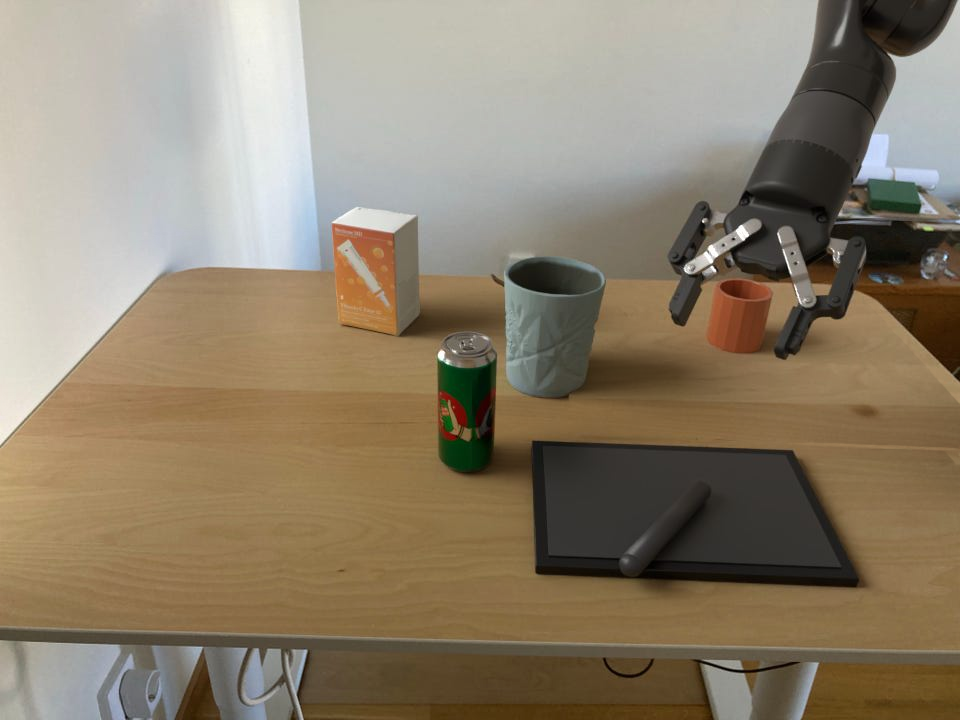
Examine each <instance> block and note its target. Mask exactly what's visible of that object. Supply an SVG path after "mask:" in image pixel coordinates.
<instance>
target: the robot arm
mask: <svg viewBox="0 0 960 720" xmlns="http://www.w3.org/2000/svg"><path fill="white" fill-rule="evenodd" d="M958 1H959V0H818V2H817V5H816V13H815V23H814V30H813V31H814V33H813V39H812V43H811V47H810V48H811V49H810V53H809V58H808V61H807V63H806V67H805V68H804V71H803V73H802V74H801V77H800V79H799V81H798V84H797V85H796V88H795V89H794V91H793V94H792V96H791V98H790V100H789V102H788V104H787V105H786V107H785V109H784V110H783V112H782V114H781V115H780V116H779V118H778V120H777V121H776V123H775V125H774V127H773V129H772V131H771V133H770V135H769V137H768V139H767V141H766V142H765V145H764V147H763V150H762V151H761V154H760V155H759V157H758V160H757V162H756V163H755V165H754V168H753V169H752V172H751V173H750V176H749V179H748V180H747V183H746V185H745V186H744V189H743V191H742V194H741V196H740V198H739V202H738V203H737V205H736V206H735V207H734V208H733V209H732V210H730V211H729V212H728V213H726V212H723V211H720V210H715V209H713V208H711V207H710V205H709V204H710V203H708V202H707V201H706V200H701V201H698V202H697V203H696V204H695V205H694V207H693V209H692V210H691V212H690V214H689V216H688V217H687V220H686V221H685V223H684V225H683V226H682V228H681V229H680V232H679V234H678V236H677V237H676V239H675V241H674V242H673V244H672V247H671V248H670V249H669V252H668V254H667V259H668V262H669V264H670V266H671V268H672V269H673V271H674V273H675V274H676V275H679V276H681V278H680V280H679V282H678V284H677V286H676V289H675V290H674V293H673V295H672V297H671V299H670V300H669V303H668V311H669V312H670V318H671V320H672V322H673V323H674V325H676V326H679V327H681V328H684V327H685V326H686V325H687V322H688V321H689V319H690V316H691V314H692V312H693V310H694V308H695V306H696V304H697V303H698V300H699V297H700V296H701V294H702V291H703V288H702V286H703V285H705V284H707V283H708V282H711V281H712V280H713V279H715V278H717V277H719V276H720V277H721V276H723V277H724V276H726V275H727V274H729V273H730V272H732V271H735V269H740V271H741V273H745V274H748V275H761V276H763V278H766V279H768V280H769V281H773V282H777V283H779V282H780V280H786V279H789V280H790V283H791V286H792V289H793V291H794V292H793V293H794V295H795V297H796V300H797V302H798V303H797V306H794V305H793V306H792V307H791V309H790V312H789V314H788V316H787V318H786V321H785V322H784V325H783V327H782V329H781V332H780V333H779V336H778V338H777V340H776V341H775V344H774V348H773V352H774V355H775V358H777V359H780V360H783V361H786V360H787V359H788V358H789V355H792V356H796V355H797V354H798V353H799V352H800V351H801V349H802V346H803V344H804V342H805V339H806V338H807V337H808V333H809V332H810V330H811V327H812V325H813V323H814V321H816V320H818V319H820V318H831V319H833V320H835V321H836V320H843V318H844V317H845V316H846V314H847V311H848V309H849V306H850V304H851V301H852V298H853V296H854V293H855V290H856V287H857V285H858V281H859V279H860V276H861V273H862V271H863V268H864V265H865V264H866V260H867V246H866V239H865V238H864V237H863V236H860V235H856V236H852V237H851V238H849V240H848V239H843V238H836V237H831V232H832V230H833V228H834V227H835V223H836V221H837V219H838V217H839V215H840V214H841V210H842V208H843V207H844V204H845V202H846V199H847V198H848V195H849V193H850V190H851V188H852V186H853V184H854V182H855V180H856V179H857V178H858V176H859V174H860V172H861V171H862V168H863V162H864V160H865V158H866V155H867V153H868V150H869V146H870V143H871V140H872V136H873V133H874V130H875V128H876V127H877V125H878V121H879V120H880V117H881V115H882V113H883V111H884V108H885V106H886V104H887V102H888V100H889V98H890V96H891V94H892V92H893V89H894V87H895V83H896V79H897V67H896V65H895V61H894V59H893V58H892V57H891V56H895V57H899V58H907V57H911V56H914V55H916V54H918V53H921V52H922V51H923V50H925V49H927V48H929V47H930V46H931V45H932V44H933V43H934V42H935V41H936V40H937V39H938V38H939V37H940V36H941V34H942V33H943V32H944V31H945V28H946V27H947V25H948V23H949V21H950V19H951V18H952V15H953V13H954V11H955V8H956V6H957V4H958ZM890 55H891V56H890ZM720 229H723V230H724V233H725V236H724V237H722V238H720V239H718V240H716V241H715V242H713V243H712V244H710V245H709V246H707V248H706V250H705V251H704V252H703V253H701V254H700V255H698V256H697V254H698V252H699V251H700V249H701V247H702V245H703V244H704V242H705V240H706V239H707V237H713V235H714V234H715V233H716V231H718V230H720ZM828 254H829V255H831V256H832V261H833V267H835V268H836V269H837V270H836V273H835V275H834V278H833V281H832V284H831V286H830V289H829V291H828V294H820V295H819V294H817V295H816V292H815V289H814V287H813V284H812V281H811V278H810V275H809V271H808V267H809V266H812V265H813V264H815V263H816V262H818V261H820V260H821V259H823V258H824V257H826V256H827V255H828Z"/></svg>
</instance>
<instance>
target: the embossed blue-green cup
mask: <svg viewBox="0 0 960 720" xmlns="http://www.w3.org/2000/svg"><path fill="white" fill-rule="evenodd" d="M503 281H504V286H505V288H504V301H505V303H504V311H505V314H506V315H505V316H504V317H505V338H506V342H505V343H506V348H505V361H506V364H505V376H506V379H507V382H508V384H509V385H510V386H511V387H512V388H514V389H515V390H517V391H518V392H520V393H522V394H524V395H527V396H531V397H536V398H542V399H543V398H544V399H557V398H563V397H567V396H570V393H571V392H574V391H576V390H578V389H579V388H581V387H582V386H583V384H584V383H585V381H586V378H587V374H588V368H589V362H590V354H591V351H592V347H593V343H594V338H595V334H596V330H595V325H596V324H597V322H598V320H599V316H600V311H601V306H602V303H603V302H602V301H603V297H604V293H605V290H606V289H605V288H606V285H607V279H606V276H605V274H604V273H603V272H602V270H600V269H598V267H596V266H594V265H593V264H590V263H588V262H584V261H581V260H579V259H578V260H577V259H573V258H569V257H562V256H552V255H551V256H550V255H546V256H545V255H544V256H531V257H525V258H521V259H518V260H516V261H514V262H512V263H510V264H509V265H507V267H506V268H505V269H504V272H503Z"/></svg>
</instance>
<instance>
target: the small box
mask: <svg viewBox="0 0 960 720" xmlns="http://www.w3.org/2000/svg"><path fill="white" fill-rule="evenodd" d="M331 237H332V248H333V249H332V250H333V262H334V276H335V277H334V278H335V292H336V305H337V315H338V316H337V317H338V324H339V325H342V326H343V325H344V326H350V327H353V328H354V327H355V328H359V329H363V330H368V331H374V332H379V333H383V334H387V335H392V336H394V337H399V336H400V335H401V334H402V333H403V332H404V331H405V330H406V329H407V328H408V327H409V326H410V325H411V324H412V323H413V322H414V321H415V320H416V319H417V318H418V317H419V316H420V313H421V312H420V269H419V268H420V267H419V266H420V265H419V264H420V263H419V260H420V259H419V216H418V215H416V214H408V213H401V212H396V211H392V210H385V209H375V208H369V207H363V206H362V207H361V206H355V207H354V208H352V209H350V210H348V211H347V212H345V213H344V214H342V215H340V216H339V217H338V218H336V219H335V220H333V221H332V222H331Z"/></svg>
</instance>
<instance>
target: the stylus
mask: <svg viewBox="0 0 960 720" xmlns="http://www.w3.org/2000/svg"><path fill="white" fill-rule="evenodd" d="M710 495H711V487H710V485H709V483H708V482H706V481H705V480H702V479H697V480H694V481H693V482H692V483H691V484H690V485H689V486H688V487H687V488H686V489H685V490H684V491H683V492H682V493H681V494H680V495H679V496H678V497H677V498H676V500H675V501H674V502H673V503H672V504H671V505H670V506H669V507H668V508H667V509H666V510H665V511H664V512H663V513H662V514H661V515H660V516H659V517H658V518H657V519H656V520H655V522H654V523H653V524H652V525H651V526H650V527H649V528H648V529H647V530H646V531H645V532H644V533H643V534H642V535H641V536H640V537H639V538H638V539H637V540H636V541H635V542H634V544H633V545H632V546H631V547H630V548H629V549H628V550H627V551H626V552H625V553H624V554H623V555H622V556H621V558H620V560H619V567H620V570H621V571H622V573H623V574H625V575H626V576H629V577H635V576H638V575H639V574H640V573H641V572H642V571H643V570H644V569H645V568H646V567H647V566H648V565H649V564H650V562H651V561H652V560H653V559H654V558H655V557H656V556H657V555H658V554H659V552H660V551H661V550H662V549H663V548H664V547H665V546H666V545H667V544H668V542H669V541H670V540H671V539H672V538H673V537H674V536H675V535H676V533H677V532H678V531H679V530H680V529H681V528H682V527H683V526H684V525H685V523H686V522H687V521H688V520H689V519H690V518H691V517H692V516H693V515H694V513H695V512H696V511H697V510H698V509H699V508H700V507H701V506H702V505H703V503H704V502H705V501H706V500H707V499H708V498H709V497H710Z"/></svg>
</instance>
